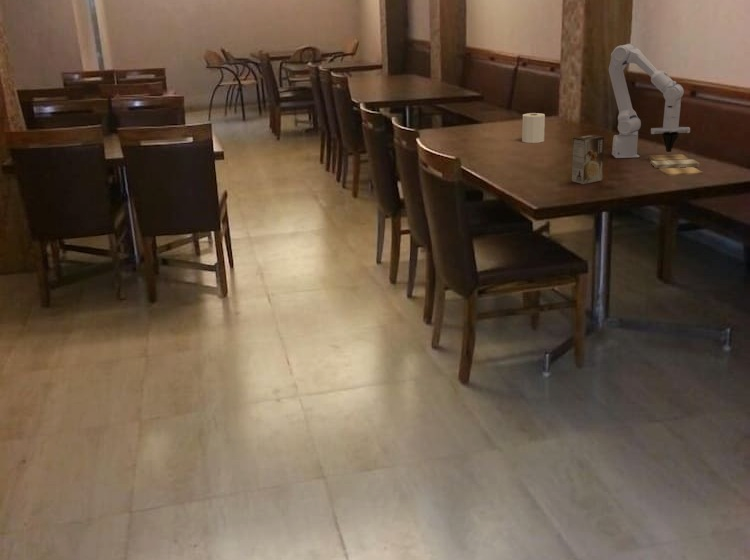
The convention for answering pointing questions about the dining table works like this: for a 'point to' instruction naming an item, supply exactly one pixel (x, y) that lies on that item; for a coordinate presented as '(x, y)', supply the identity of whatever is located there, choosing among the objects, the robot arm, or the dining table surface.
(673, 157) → the board
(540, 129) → the toilet paper
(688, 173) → the plank
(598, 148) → the coffee box
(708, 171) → the dining table surface
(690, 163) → the floor board
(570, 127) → the dining table surface
